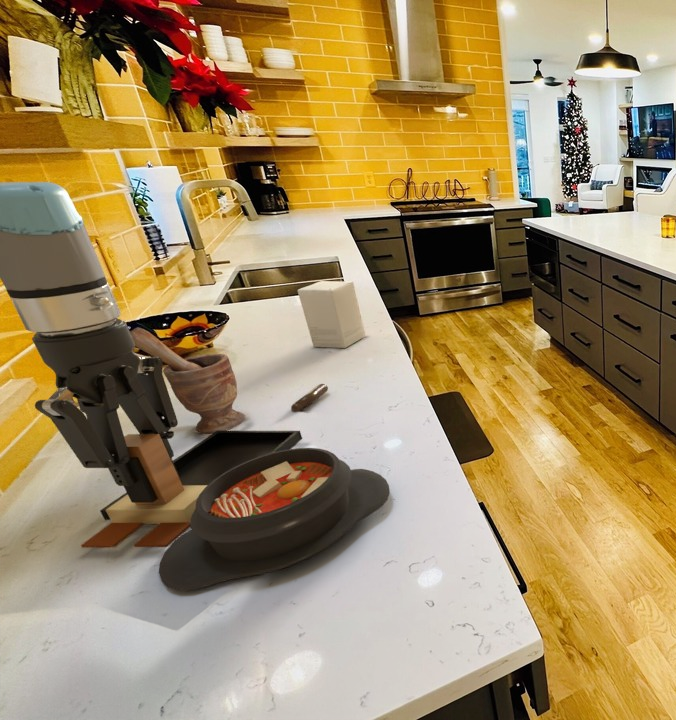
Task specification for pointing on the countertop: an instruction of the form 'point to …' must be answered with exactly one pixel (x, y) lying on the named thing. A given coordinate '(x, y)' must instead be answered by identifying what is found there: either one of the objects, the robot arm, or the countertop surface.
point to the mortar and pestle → (198, 383)
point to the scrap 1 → (112, 535)
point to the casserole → (270, 516)
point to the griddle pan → (233, 449)
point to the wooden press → (156, 487)
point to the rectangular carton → (332, 313)
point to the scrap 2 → (163, 535)
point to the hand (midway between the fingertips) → (157, 491)
